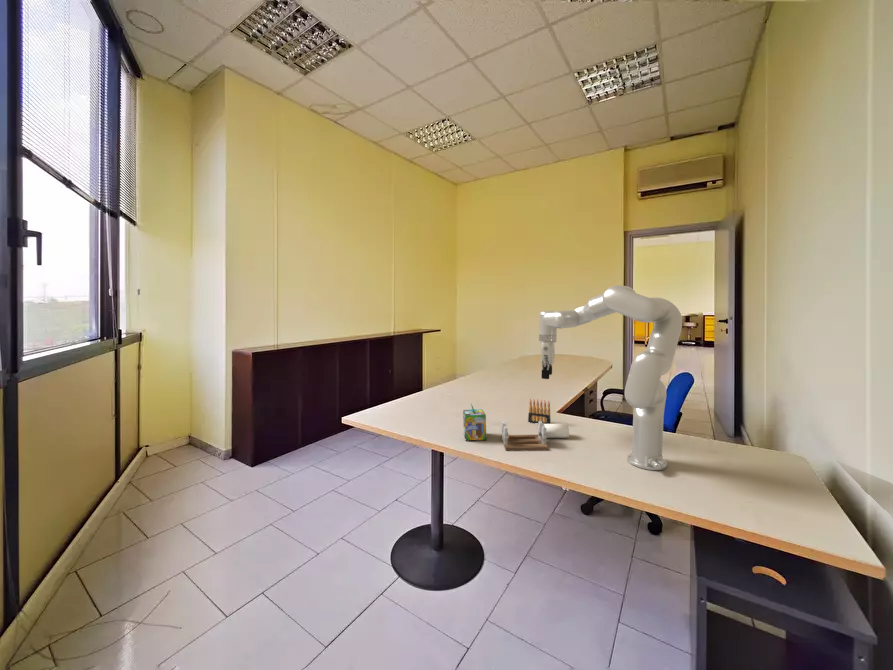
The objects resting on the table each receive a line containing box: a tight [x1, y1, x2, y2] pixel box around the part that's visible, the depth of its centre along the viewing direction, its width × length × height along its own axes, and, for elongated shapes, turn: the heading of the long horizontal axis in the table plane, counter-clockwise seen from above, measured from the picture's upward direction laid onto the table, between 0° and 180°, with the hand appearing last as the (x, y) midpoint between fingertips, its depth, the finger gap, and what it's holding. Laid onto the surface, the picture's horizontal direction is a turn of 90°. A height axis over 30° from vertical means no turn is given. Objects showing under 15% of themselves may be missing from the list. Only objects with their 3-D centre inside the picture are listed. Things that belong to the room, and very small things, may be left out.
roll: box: [544, 423, 570, 439], centre depth 154 cm, size 6×11×6 cm, turn 89°
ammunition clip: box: [527, 398, 552, 424], centre depth 172 cm, size 11×2×12 cm, turn 62°
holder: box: [500, 421, 549, 452], centre depth 147 cm, size 14×17×8 cm
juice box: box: [462, 403, 487, 441], centre depth 155 cm, size 9×9×15 cm
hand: (546, 376), depth 157 cm, fingers open, 9 cm apart
